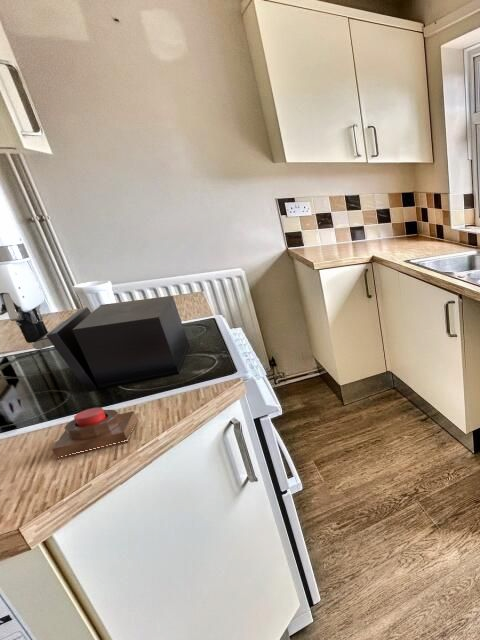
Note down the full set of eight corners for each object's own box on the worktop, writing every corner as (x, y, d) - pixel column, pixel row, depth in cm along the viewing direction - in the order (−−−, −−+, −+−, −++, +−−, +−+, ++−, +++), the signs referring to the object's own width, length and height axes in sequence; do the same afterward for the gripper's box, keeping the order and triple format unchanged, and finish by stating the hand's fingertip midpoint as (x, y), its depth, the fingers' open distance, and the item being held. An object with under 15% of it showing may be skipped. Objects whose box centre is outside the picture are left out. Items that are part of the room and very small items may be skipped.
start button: (75, 430, 70) (70, 421, 69) (82, 419, 73) (77, 411, 72) (103, 423, 71) (99, 414, 71) (109, 413, 74) (105, 405, 74)
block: (57, 460, 68) (46, 439, 67) (74, 435, 75) (64, 416, 73) (128, 442, 72) (119, 423, 71) (138, 420, 79) (130, 402, 77)
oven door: (65, 399, 88) (20, 342, 82) (94, 364, 104) (58, 314, 98) (97, 389, 90) (56, 332, 84) (120, 356, 106) (87, 307, 100)
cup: (134, 324, 130) (117, 279, 124) (118, 334, 122) (98, 286, 117) (104, 327, 128) (85, 281, 123) (85, 336, 121) (64, 288, 115)
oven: (99, 390, 90) (72, 329, 85) (122, 357, 106) (100, 304, 101) (179, 374, 97) (158, 317, 91) (189, 346, 113) (172, 295, 107)
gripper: (-9, 251, 88) (29, 333, 95) (-50, 263, 76) (-3, 356, 83) (41, 248, 91) (74, 327, 98) (9, 259, 79) (49, 348, 86)
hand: (38, 340), depth 90 cm, fingers closed
